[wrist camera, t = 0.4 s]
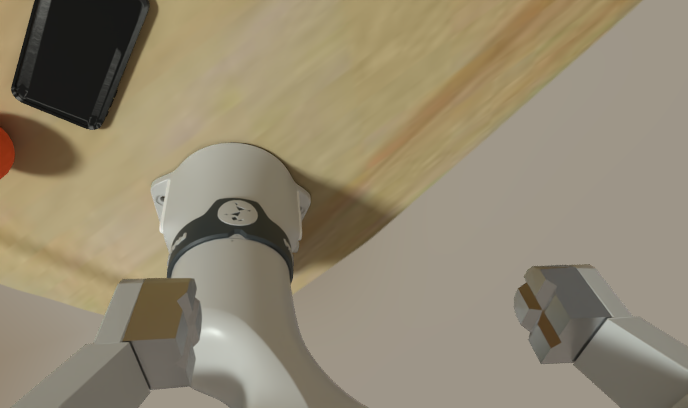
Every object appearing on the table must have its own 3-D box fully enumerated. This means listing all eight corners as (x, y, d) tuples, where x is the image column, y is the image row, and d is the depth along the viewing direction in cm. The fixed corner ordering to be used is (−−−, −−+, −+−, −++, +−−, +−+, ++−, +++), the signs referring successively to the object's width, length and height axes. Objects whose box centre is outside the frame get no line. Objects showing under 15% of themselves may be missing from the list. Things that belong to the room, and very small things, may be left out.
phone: (8, 97, 39) (50, -59, 32) (13, 92, 40) (55, -61, 33) (99, 133, 43) (153, 1, 36) (102, 128, 44) (155, -2, 37)
